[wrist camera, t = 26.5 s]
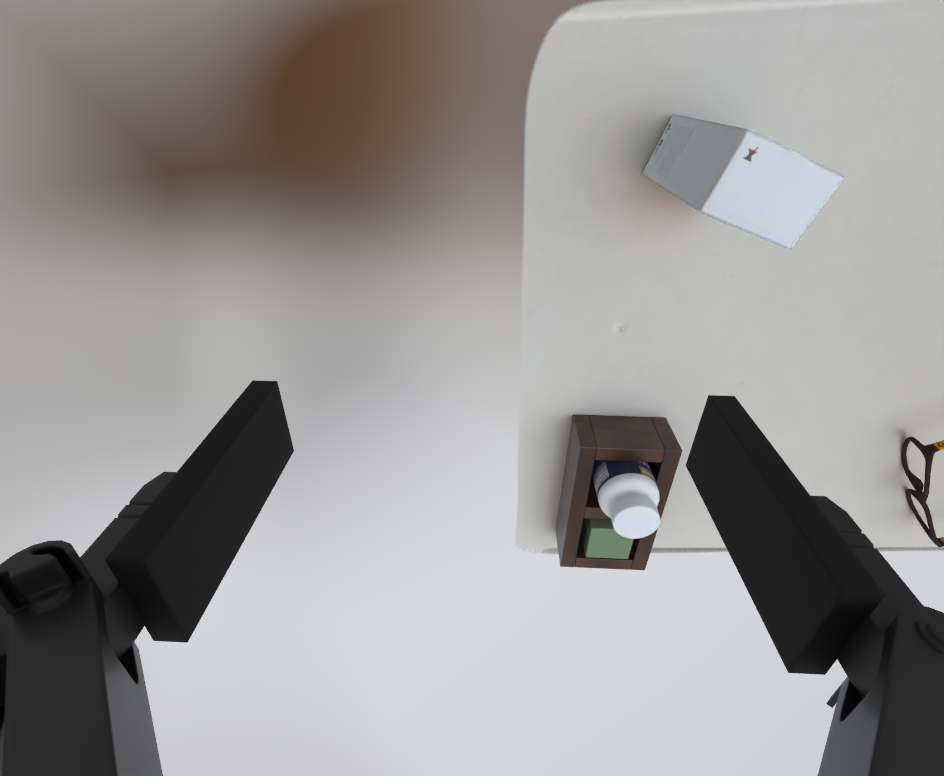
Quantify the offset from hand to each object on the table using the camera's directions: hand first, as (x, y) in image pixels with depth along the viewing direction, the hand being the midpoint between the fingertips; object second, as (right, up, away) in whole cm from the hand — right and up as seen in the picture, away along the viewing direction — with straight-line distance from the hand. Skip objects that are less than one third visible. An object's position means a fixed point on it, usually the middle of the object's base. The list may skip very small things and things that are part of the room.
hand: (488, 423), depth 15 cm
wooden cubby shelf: (+14, -9, +36) cm, 40 cm away
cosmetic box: (+15, +18, +20) cm, 31 cm away
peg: (+14, -12, +38) cm, 42 cm away
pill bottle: (+14, -5, +34) cm, 37 cm away
